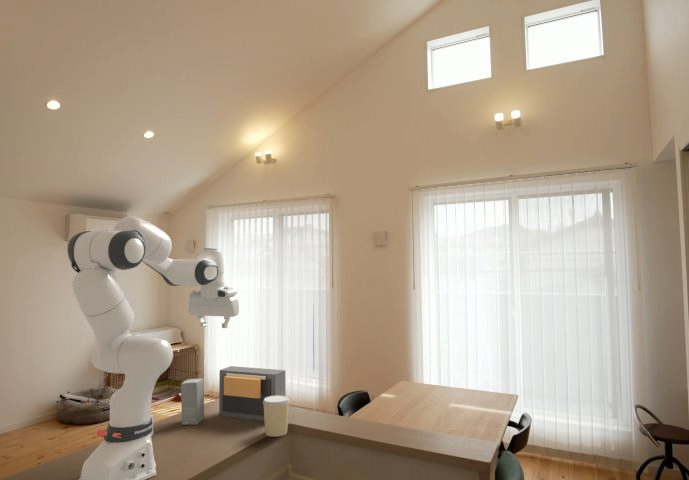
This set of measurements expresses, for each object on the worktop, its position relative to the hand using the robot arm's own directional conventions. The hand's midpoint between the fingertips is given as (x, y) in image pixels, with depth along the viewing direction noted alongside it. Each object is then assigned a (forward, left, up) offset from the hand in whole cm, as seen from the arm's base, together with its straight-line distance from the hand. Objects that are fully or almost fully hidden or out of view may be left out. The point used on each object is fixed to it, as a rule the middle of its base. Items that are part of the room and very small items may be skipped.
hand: (214, 327), depth 171 cm
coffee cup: (+3, -25, -37) cm, 45 cm away
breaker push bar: (+10, -6, -28) cm, 30 cm away
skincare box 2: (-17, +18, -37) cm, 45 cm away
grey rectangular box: (+17, -6, -37) cm, 41 cm away
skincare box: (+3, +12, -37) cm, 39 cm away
